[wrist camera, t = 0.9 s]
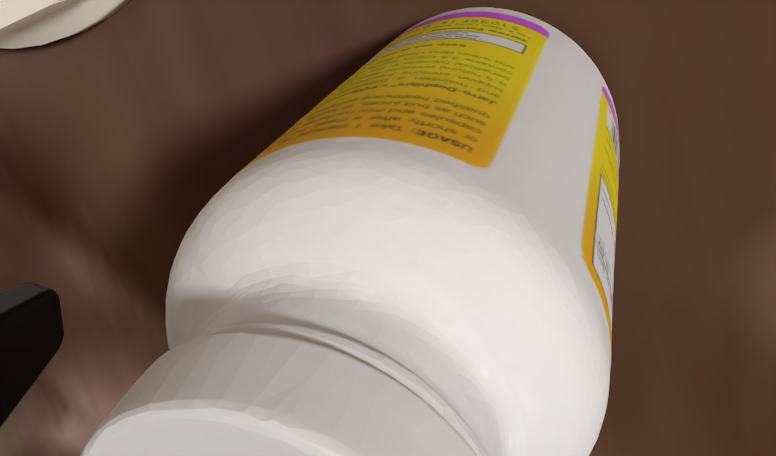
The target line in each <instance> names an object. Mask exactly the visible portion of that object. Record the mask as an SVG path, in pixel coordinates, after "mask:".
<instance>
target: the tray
mask: <svg viewBox="0 0 776 456" xmlns="http://www.w3.org/2000/svg"><path fill="white" fill-rule="evenodd" d="M129 1H131V0H0V48H6V49H17V48H24V47H31V46H39V45H43V44H46V43H50V42H53V41H56V40H59V39H62V38H65V37H68V36H71V35H74V34H76V33H79V32H82V31H85V30H88V29H89V28H91V27H93V26H95V25H97V24H98V23H100V22H102V21H104V20H106V19H107V18H109V17H111V16H112V15H114V14H115V13H116V12H117V11H118V10H120V9H121V8H122V7H123V6H124V5H126V4H127V3H128V2H129Z"/></svg>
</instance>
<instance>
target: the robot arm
mask: <svg viewBox="0 0 776 456" xmlns="http://www.w3.org/2000/svg"><path fill="white" fill-rule="evenodd" d="M63 336H64V330H63V322H62V315H61V308H60V301H59V296H58V295H57V293H56V292H55V291H54V290H52V289H49V288H46V287H43V286H40V285H37V284H34V283H26V284H22V285H19V286H15V287H12V288H8V289H5V290H2V291H0V427H1V425H2V424H3V423H4V422H5V420H6V419H7V418H8V416H9V415H10V414H11V412H12V411H13V410H14V408H15V407H16V406H17V404H18V403H19V402H20V400H21V399H22V398H23V396H24V395H25V394H26V392H27V391H28V390H29V388H30V387H31V386H32V384H33V383H34V381H35V380H36V379H37V377H38V376H39V375H40V373H41V372H42V371H43V369H44V368H45V367H46V365H47V364H48V363H49V361H50V360H51V359H52V357H53V356H54V355H55V353H56V352H57V351H58V349H59V347H60V345H61V343H62V340H63Z"/></svg>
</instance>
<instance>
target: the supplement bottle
mask: <svg viewBox="0 0 776 456" xmlns="http://www.w3.org/2000/svg"><path fill="white" fill-rule="evenodd" d="M619 153H620V149H619V131H618V120H617V115H616V110H615V106H614V103H613V100H612V97H611V94H610V92H609V89H608V87H607V85H606V83H605V81H604V79H603V77H602V75H601V74H600V72H599V70H598V68H597V67H596V65H595V64H594V63H593V61H592V60H591V59H590V58H589V57H588V56H587V54H586V53H585V52H584V51H583V50H582V49H581V48H580V47H579V46H578V45H577V44H576V43H575V42H574V41H573V40H571V39H570V38H569V37H567V36H566V35H565V34H563V33H562V32H561V31H559V30H558V29H556V28H554V27H553V26H551V25H549V24H547V23H545V22H543V21H541V20H539V19H537V18H535V17H532V16H529V15H526V14H523V13H519V12H516V11H512V10H506V9H500V8H490V7H476V8H465V9H459V10H454V11H450V12H445V13H442V14H439V15H436V16H433V17H431V18H428V19H426V20H424V21H422V22H420V23H418V24H416V25H415V26H413V27H411V28H409V29H408V30H406V31H405V32H404V33H402V34H401V35H400V36H398V37H397V38H396V39H394V40H393V41H392V42H391V43H390V44H388V45H387V46H386V47H385V48H383V49H382V50H381V51H380V52H378V53H377V54H376V55H375V56H374V57H373V58H372V59H371V60H369V61H368V62H367V63H366V64H365V65H364V66H362V67H361V68H360V69H359V70H358V71H357V72H356V73H354V74H353V75H352V76H351V77H350V78H348V79H347V80H346V81H345V82H343V83H342V84H341V85H340V86H339V87H338V88H336V89H335V90H334V91H333V92H332V93H330V94H329V95H328V96H327V97H326V98H325V99H323V100H322V101H321V102H320V103H319V104H318V105H317V106H315V107H314V108H313V109H312V110H311V111H310V112H309V113H307V114H306V115H305V116H304V117H302V118H301V119H300V120H299V121H298V122H297V123H296V124H294V125H293V126H292V127H291V128H290V129H289V130H288V131H287V132H285V133H284V134H283V135H282V136H281V137H279V138H278V139H277V140H276V141H275V142H274V143H272V144H271V145H270V146H269V147H268V148H266V149H265V150H264V151H263V152H262V153H261V154H259V155H258V156H257V157H256V158H255V159H254V160H252V161H251V162H250V163H249V164H248V165H246V166H245V167H244V168H243V169H242V170H240V171H239V172H238V173H237V174H236V175H235V176H234V177H233V178H232V179H231V180H230V181H229V182H228V183H227V184H226V185H224V186H223V187H222V188H221V189H220V190H219V191H218V192H217V193H216V194H215V195H214V196H213V197H212V198H211V200H210V201H209V202H208V203H207V204H206V205H205V207H204V208H203V209H202V210H201V211H200V213H199V214H198V216H197V217H196V219H195V220H194V222H193V223H192V224H191V226H190V227H189V229H188V230H187V232H186V234H185V236H184V238H183V240H182V242H181V244H180V247H179V249H178V251H177V254H176V256H175V259H174V262H173V265H172V268H171V271H170V276H169V282H168V288H167V294H166V332H167V340H168V346H169V351H168V352H166V353H165V354H163V355H162V356H160V357H159V358H158V359H157V360H156V361H155V362H154V363H153V364H152V365H151V366H150V367H149V368H148V369H147V370H146V371H145V372H144V373H143V374H142V375H141V377H140V378H139V379H138V380H137V381H136V382H135V384H134V385H133V386H132V387H131V388H130V389H129V390H128V392H127V393H126V394H125V395H124V396H123V397H122V399H121V400H120V401H119V402H118V403H117V404H116V406H115V407H114V408H113V409H112V410H111V411H110V413H109V414H108V415H107V416H106V417H105V418H104V420H103V421H102V422H101V423H100V424H99V426H98V427H97V428H96V429H95V431H94V432H93V433H92V434H91V436H90V438H89V439H88V441H87V443H86V445H85V447H84V449H83V451H82V453H81V456H589V454H590V452H591V450H592V448H593V446H594V445H595V443H596V441H597V438H598V435H599V432H600V429H601V426H602V422H603V419H604V415H605V411H606V407H607V400H608V393H609V380H610V366H611V337H612V306H613V280H614V260H615V239H616V223H617V205H618V179H619V175H618V174H619V159H620V155H619Z"/></svg>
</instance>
